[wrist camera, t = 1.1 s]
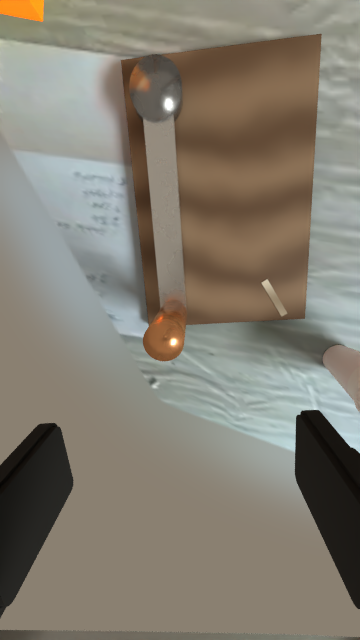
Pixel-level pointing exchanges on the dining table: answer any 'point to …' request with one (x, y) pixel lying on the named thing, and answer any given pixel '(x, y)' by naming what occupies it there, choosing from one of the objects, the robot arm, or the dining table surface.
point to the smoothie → (345, 369)
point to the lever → (163, 197)
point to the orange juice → (23, 8)
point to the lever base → (238, 179)
